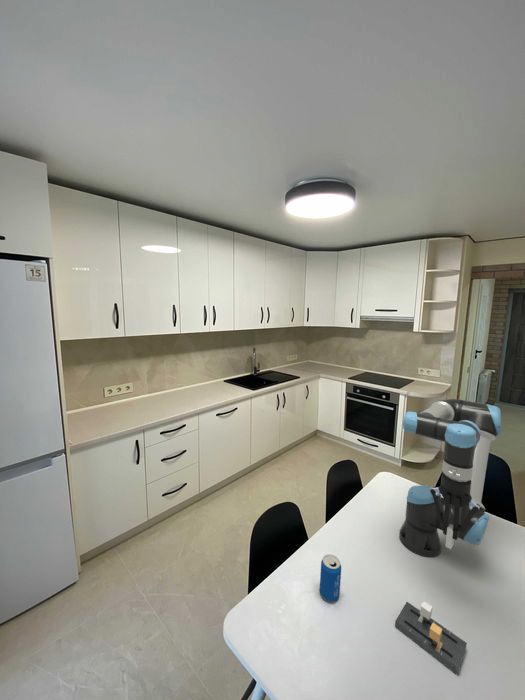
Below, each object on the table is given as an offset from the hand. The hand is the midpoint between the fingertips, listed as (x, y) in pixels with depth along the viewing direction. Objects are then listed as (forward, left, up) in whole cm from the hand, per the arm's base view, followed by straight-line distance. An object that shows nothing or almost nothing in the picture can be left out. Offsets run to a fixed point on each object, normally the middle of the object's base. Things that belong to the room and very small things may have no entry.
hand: (449, 545), depth 91 cm
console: (0, -14, -21) cm, 25 cm away
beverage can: (-27, -24, -22) cm, 42 cm away
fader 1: (-2, -11, -19) cm, 22 cm away
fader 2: (+2, -16, -19) cm, 25 cm away
